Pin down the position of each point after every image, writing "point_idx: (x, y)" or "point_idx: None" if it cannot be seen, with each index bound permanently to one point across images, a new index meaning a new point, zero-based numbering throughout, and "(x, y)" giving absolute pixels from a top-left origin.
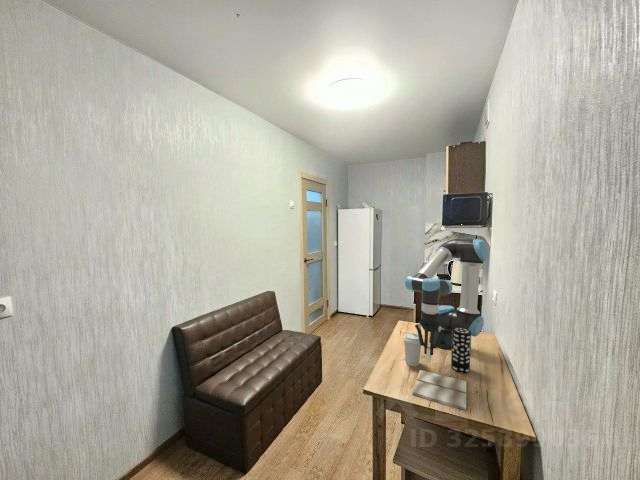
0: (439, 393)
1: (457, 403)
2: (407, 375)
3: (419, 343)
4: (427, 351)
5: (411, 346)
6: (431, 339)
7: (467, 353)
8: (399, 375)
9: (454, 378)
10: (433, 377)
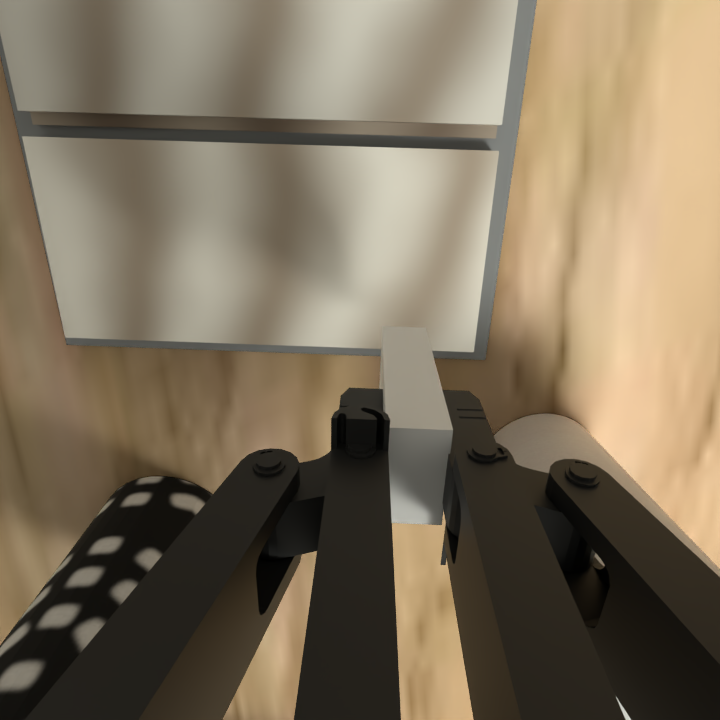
0: None
1: None
2: (582, 245)
3: None
4: (430, 397)
5: None
6: (361, 612)
7: (2, 645)
8: (664, 205)
9: (163, 337)
10: (339, 265)
